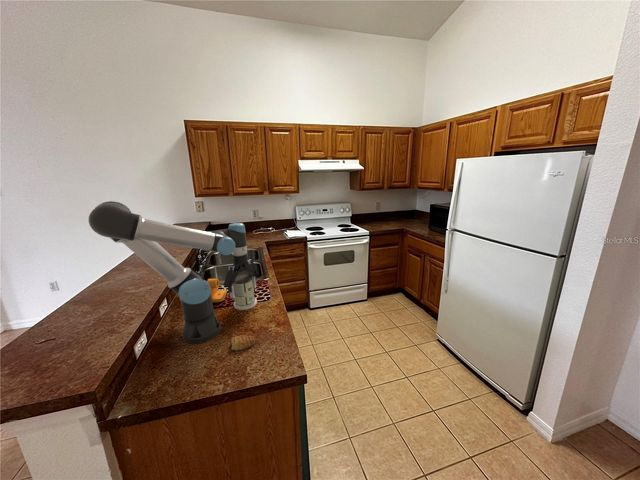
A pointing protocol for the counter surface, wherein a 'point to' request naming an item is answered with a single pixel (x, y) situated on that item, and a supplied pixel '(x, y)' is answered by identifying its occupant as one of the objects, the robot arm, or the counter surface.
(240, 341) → the pastry
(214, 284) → the bracket
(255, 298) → the plate
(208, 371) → the counter surface
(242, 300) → the coffee can
